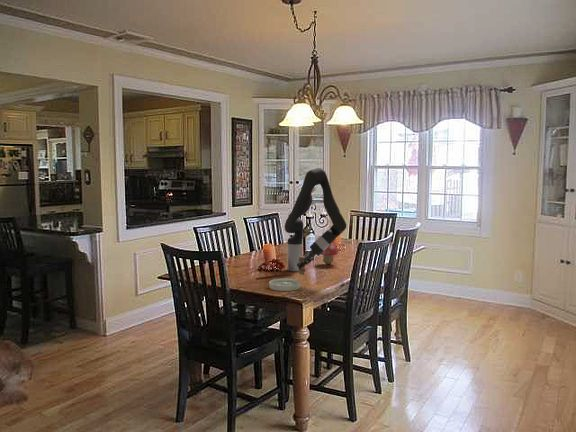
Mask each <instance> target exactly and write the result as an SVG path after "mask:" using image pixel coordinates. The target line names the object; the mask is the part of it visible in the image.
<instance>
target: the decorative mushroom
mask: <svg viewBox="0 0 576 432" xmlns="http://www.w3.org/2000/svg"><path fill="white" fill-rule="evenodd" d="M338 254H339V249H338V247H337V245H335V243H333V242H332V243H331V244H330V245H329V246H328V247H327V249H326V250H325V251H324V252H322V253H321V254H320V256H321V255H322V256H323V257H322V258H323V259H322V262H323V263H324V264H326V265H331V264H333V262H334V256H337V255H338Z"/></svg>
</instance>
